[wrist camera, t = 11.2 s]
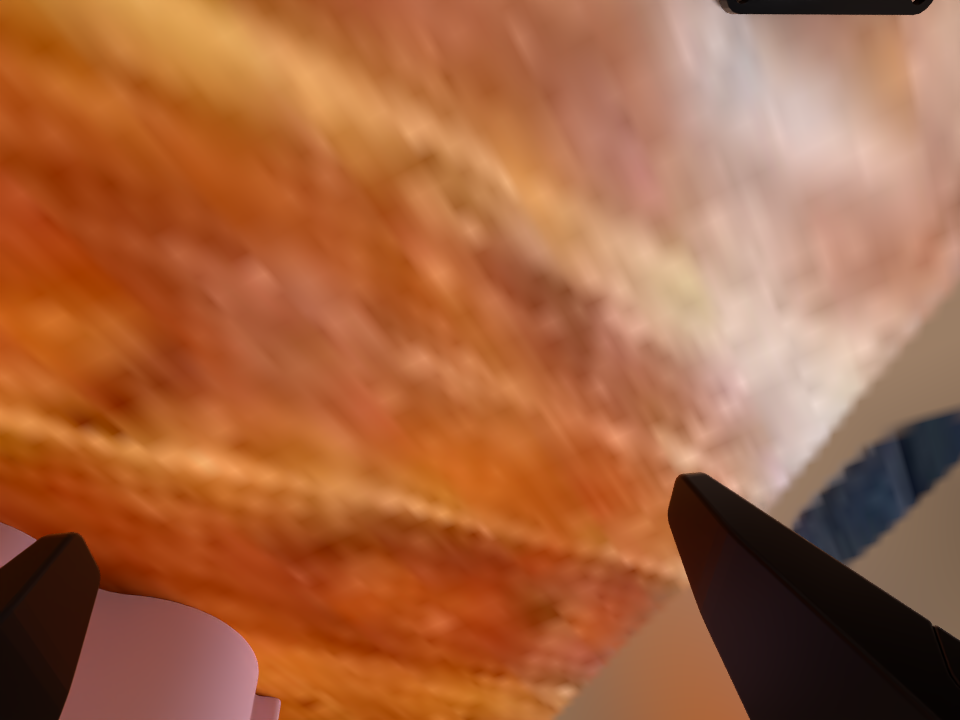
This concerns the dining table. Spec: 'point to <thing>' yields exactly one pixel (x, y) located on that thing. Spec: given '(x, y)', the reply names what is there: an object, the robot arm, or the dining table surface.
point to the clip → (157, 660)
